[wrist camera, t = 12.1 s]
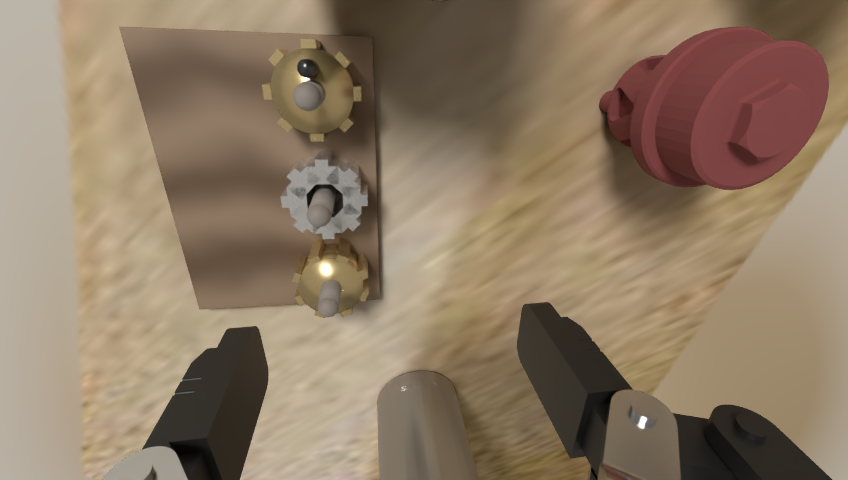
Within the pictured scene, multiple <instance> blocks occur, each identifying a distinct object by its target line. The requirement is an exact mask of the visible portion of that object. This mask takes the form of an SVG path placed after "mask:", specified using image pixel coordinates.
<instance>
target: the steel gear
mask: <svg viewBox="0 0 848 480" xmlns="http://www.w3.org/2000/svg"><path fill="white" fill-rule="evenodd" d="M287 178H288V179H289V180H291V181H290V183H289V184H288V185H287V187H286V188H285V190H284V191H283V193H282V195H281V203H282V208H289V209H290V216H291V217H293V218H294V219H295V222H294V224H293V226H294V227H296V228H297V229H298V230H299V231H301V232H302V233H303V232H304V231H305V230H306V229H308V230H309V231H311V232H312V233H313V234H320V233H322V238H323V239H335V233H343V232H344V231H345V230H346V229H347V228H349V229H350V230H352V231H354V230H355V229H356V228H357V227H358V226H359V225H360V224H361V214H362V206H368V190H367V183H361V175H360V174H359V165H358V164H357V163H356V162H355V161H354V160H353V159H351V158H350V159H349V160H348V161H347V162H346V161H344V160H343V159H342V158H341V157H332V152H331V150H319V152H318V154H317V156H316V157H311V158H310V159H309V160H308V161H307V162H305V161H304V160H303V159H302V158H301V159H300V160H299V161H298V162H297V163H296V164H295V165H294V166H293V168H292V169H291V171H290V172H289V174H288V175H287ZM316 184H332V185H333V186H334V187H335V188H336V189H337V190H339V191H340V192H341V193H342V194H343V198H342V199H341V200H340V201H339V202H338V203H337V204H334V207H333V212H332V216H331V220H330V222H329V223H328V224H327V225H325V226H323V227H316V226H313V225H312V224H311V223H310V222H309V221H308V219H307V211H308V208H309V206H310V203H311V201H312V198H313V192H312V188H313V187H314V186H315V185H316Z"/></svg>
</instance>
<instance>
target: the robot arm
mask: <svg viewBox="0 0 848 480" xmlns="http://www.w3.org/2000/svg"><path fill="white" fill-rule="evenodd" d="M517 350H518V355H519V359H520V362H521V364H522V366H523V368H524V369H525V371H526V373H527V375H528V377H529V379H530V381H531V383H532V385H533V387H534V389H535V391H536V393H537V395H538V397H539V399H540V400H541V402H542V404H543V406H544V408H545V410H546V412H547V414H548V416H549V418H550V420H551V422H552V424H553V426H554V428H555V429H556V431H557V433H558V435H559V437H560V439H561V441H562V443H563V445H564V447H565V449H566V451H567V453H568V455H569V457H570V458H576V457H583V456H586V458H587V459H588V461H589V463H590V465H591V466H590V469H589V473H588V479H587V480H832V479H831V478H830V477H829V476H828V475H827V474H826V473H825V472H824V471H823V470H822V469H820V468H819V467H818V466H817V465H816V464H815V463H814V462H813V461H812V460H811V459H810V458H809V457H808V456H806V454H805V453H804V452H803V451H802V450H800V449H799V448H798V447H797V446H796V445H795V444H794V443H793V442H792V441H791V440H790V439H789V438H788V437H787V436H786V435H785V434H784V433H783V432H781V431H780V430H779V429H778V428H777V427H776V426H775V425H773V423H771V422H770V421H769V420H767V419H766V418H764V417H762V416H761V415H759V414H757V413H755V412H753V411H751V410H748V409H745V408H743V407H739V406H735V405H720V406H717V407H716V408H715V409H714V410H713V411H712V414H711V416H710V418H709V419H705V418H698V417H693V416H686V415H680V414H674V413H672V412H671V411H670V410H669V408H668V407H667V406H666V405H664V404H663V403H662V402H660V401H659V400H658V399H656V398H655V397H653V396H651V395H649V394H646V393H644V392H641V391H637V390H633V389H632V388H631V387H630V385H629V384H628V383H627V382H626V380H625V379H624V378H623V377H622V376H621V374H620V373H619V372H618V371H617V369H616V368H615V367H614V366H613V365H612V363H611V362H610V361H609V360H608V358H607V357H606V356H605V355H604V353H603V352H600V349H599V347H598V346H597V345H596V344H595V342H594V341H592V339H591V338H590V336H589V335H588V334H587V333H586V331H585V330H584V329H583V328H582V327H581V326H580V325H578V324H577V323H575V322H574V321H572V320H571V319H570V318H568V317H560V315H559V314H558V313H557V311H556V310H555V309H554V307H553V306H552V305H551V304H550V303H548V302H544V303H532V304H524V305H523V308H522V312H521V319H520V326H519V333H518V340H517ZM267 385H268V365H267V361H266V357H265V353H264V348H263V344H262V340H261V336H260V332H259V329H258V327H256V326H253V327H241V328H229V329H227V330H226V332H225V333H224V335H223V337H222V339H221V341H220V343H219V345H218V347H217V348H209V349H206V350H205V351H204V352H203V353H202V354H201V355H200V356H199V357H198V358H196V359H195V360H194V361H193V362H192V363H191V365H190V367H189V368H188V370H187V372H186V374H185V375H184V377H183V381H182V382H180V384H179V386H178V388H177V389H176V391H175V395H174V396H172V398H171V400H170V402H169V403H168V405H167V407H166V409H165V410H164V412H163V414H162V416H161V417H160V419H159V421H158V423H157V424H156V426H155V428H154V430H153V431H152V433H151V435H150V437H149V438H148V440H147V442H146V444H145V445H144V447H143V449H142V450H140V451H138V452H136V453H134V454H132V455H130V456H128V457H126V458H125V459H123V460H122V461H120V462H119V463H118V464H116V465H115V466H114V467H113V468H112V469H111V470H110V471H109V472H108V473H107V474H106V475H105V476H104V477H103V479H102V480H240V477H241V473H242V470H243V467H244V463H245V460H246V457H247V453H248V450H249V447H250V443H251V440H252V436H253V433H254V430H255V426H256V423H257V420H258V416H259V413H260V410H261V406H262V403H263V400H264V396H265V393H266V389H267ZM377 411H378V450H379V480H479V477H478V474H477V470H476V466H475V462H474V459H473V455H472V451H471V448H470V444H469V440H468V436H467V433H466V429H465V425H464V422H463V417H462V414H461V410H460V406H459V403H458V399H457V395H456V391H455V388H454V386H453V384H452V383H451V382H450V381H449V380H448V379H447V378H446V377H444V376H443V375H441V374H438V373H435V372H430V371H415V372H409V373H406V374H403V375H400V376H398V377H396V378H394V379H393V380H391V381H390V382H389V383H387V384H386V386H385V387H384V388H383V389H382V390H381V392H380V394H379V396H378V401H377Z"/></svg>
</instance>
